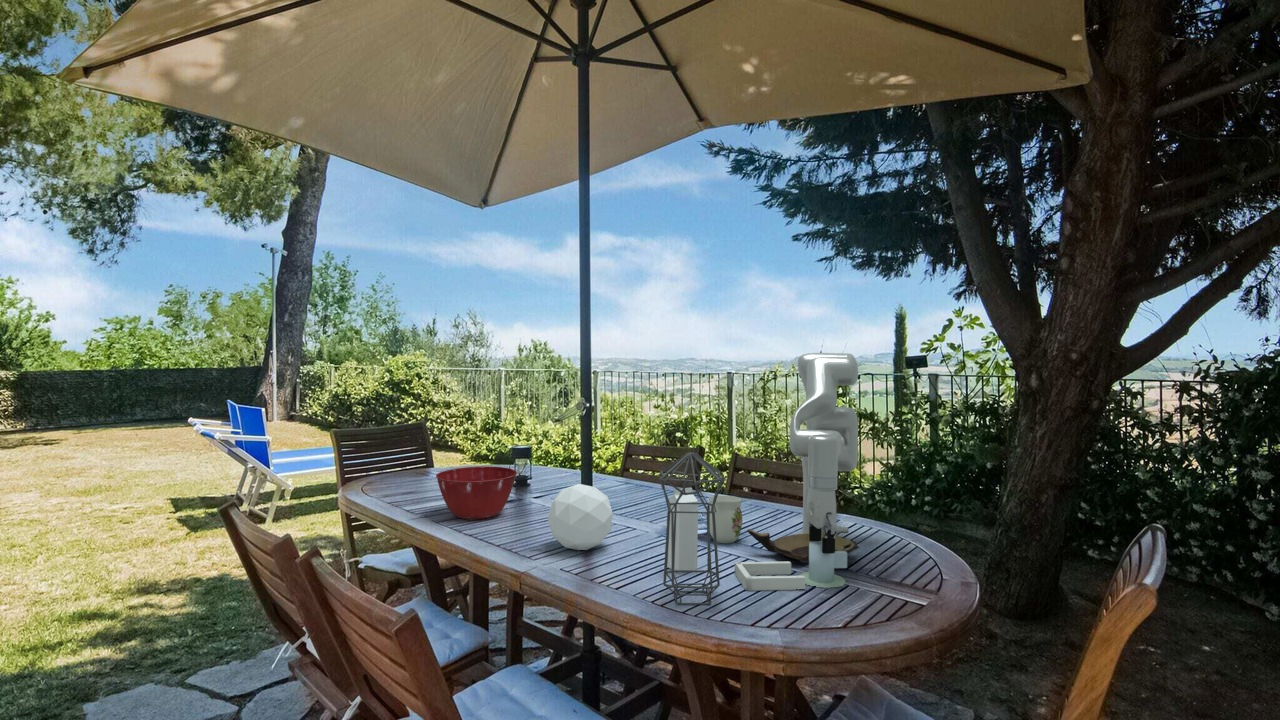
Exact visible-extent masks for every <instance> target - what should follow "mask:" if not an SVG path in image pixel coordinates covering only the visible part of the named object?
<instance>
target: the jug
mask: <svg viewBox="0 0 1280 720" xmlns="http://www.w3.org/2000/svg"><path fill="white" fill-rule="evenodd" d="M808 559H809V562H808V572H809V579H810V580H811V581H814V582H818V583H831V582H833V581H834V574H835V569H847V568H848V554H847V552H846V551H835V553H830V554H824V553H822V541H813V542H810V543H809V558H808Z"/></svg>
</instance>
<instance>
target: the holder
mask: <svg viewBox="0 0 1280 720" xmlns="http://www.w3.org/2000/svg"><path fill="white" fill-rule="evenodd" d="M734 575H735V576H736V578H737V579H738V581H739V582H740V584H741V585H742V586H743V588H744V590H745V591H746V592H748V591H749V592H750V591H789V590H790V591H797V590H796V589H798V591H799V589H805V590H806V585H805V577H804V576H798V575H792V562H791V561H735V562H734Z"/></svg>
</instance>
